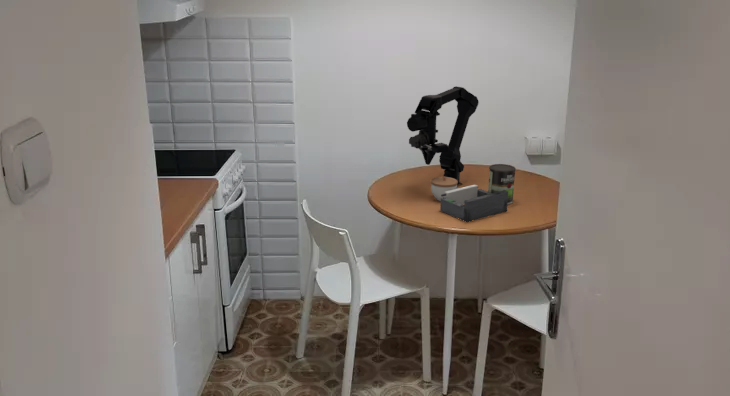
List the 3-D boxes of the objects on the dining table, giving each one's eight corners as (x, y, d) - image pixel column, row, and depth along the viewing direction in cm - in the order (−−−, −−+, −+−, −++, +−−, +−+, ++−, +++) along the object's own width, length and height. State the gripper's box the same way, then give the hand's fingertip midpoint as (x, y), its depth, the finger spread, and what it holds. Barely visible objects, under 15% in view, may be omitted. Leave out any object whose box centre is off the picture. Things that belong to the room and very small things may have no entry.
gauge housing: (479, 200, 286) (480, 181, 283) (506, 211, 274) (508, 191, 272) (440, 210, 274) (440, 191, 272) (466, 222, 263) (467, 202, 260)
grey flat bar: (473, 198, 285) (474, 184, 283) (477, 200, 284) (477, 185, 282) (439, 207, 275) (440, 192, 273) (442, 208, 274) (443, 194, 272)
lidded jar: (445, 193, 295) (446, 171, 292) (462, 200, 286) (463, 178, 283) (425, 197, 289) (425, 175, 286) (441, 204, 281) (442, 182, 278)
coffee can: (518, 202, 284) (521, 169, 279) (497, 206, 279) (500, 172, 274) (502, 195, 292) (504, 162, 288) (481, 199, 288) (483, 165, 283)
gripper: (399, 125, 290) (398, 162, 295) (428, 134, 275) (427, 173, 280) (420, 122, 296) (419, 158, 301) (450, 130, 281) (448, 168, 287)
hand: (427, 164), depth 292 cm, fingers closed
